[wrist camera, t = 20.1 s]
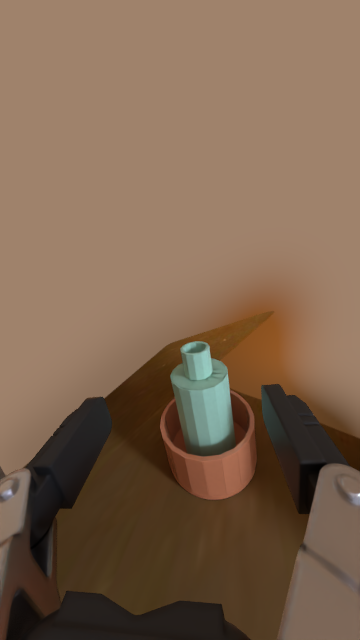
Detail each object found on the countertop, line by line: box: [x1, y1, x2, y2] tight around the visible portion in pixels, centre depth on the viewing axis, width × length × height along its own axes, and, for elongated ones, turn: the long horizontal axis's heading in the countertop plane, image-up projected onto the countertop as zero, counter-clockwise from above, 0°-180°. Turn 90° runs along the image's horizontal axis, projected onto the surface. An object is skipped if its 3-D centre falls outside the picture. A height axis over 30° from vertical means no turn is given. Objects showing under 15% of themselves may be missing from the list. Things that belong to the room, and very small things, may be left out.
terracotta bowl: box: [160, 390, 257, 500], centre depth 24 cm, size 11×11×6 cm
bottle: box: [171, 341, 236, 457], centre depth 23 cm, size 6×6×14 cm
